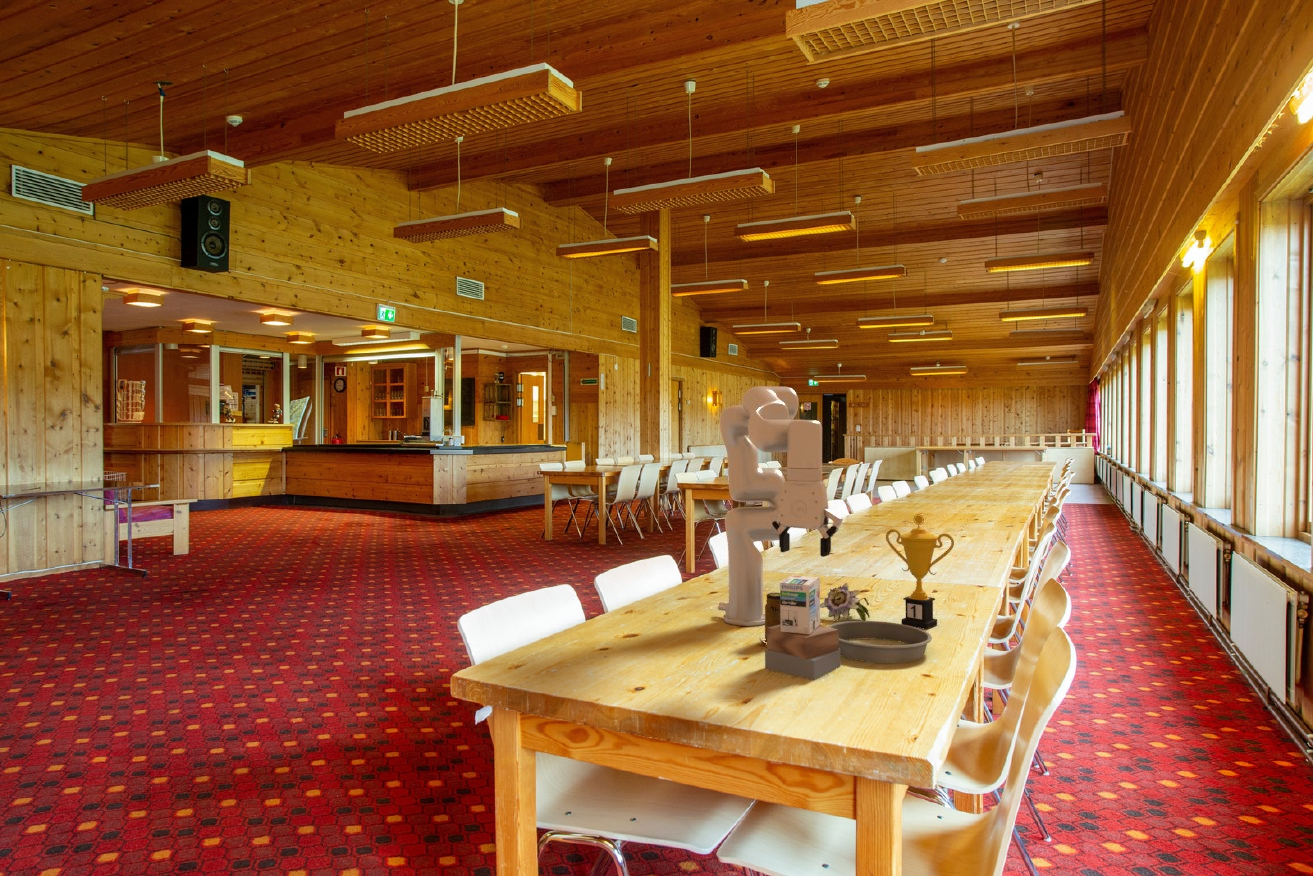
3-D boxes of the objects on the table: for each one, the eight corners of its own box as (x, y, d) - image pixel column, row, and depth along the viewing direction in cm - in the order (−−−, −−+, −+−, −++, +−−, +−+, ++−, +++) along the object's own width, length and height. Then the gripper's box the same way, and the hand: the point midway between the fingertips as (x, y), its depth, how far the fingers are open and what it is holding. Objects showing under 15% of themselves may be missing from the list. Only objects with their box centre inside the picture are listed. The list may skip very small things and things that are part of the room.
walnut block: (767, 647, 166) (767, 627, 166) (800, 639, 173) (800, 620, 173) (805, 659, 157) (805, 637, 157) (838, 650, 164) (838, 629, 164)
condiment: (788, 638, 189) (788, 591, 189) (795, 648, 181) (795, 598, 181) (759, 639, 189) (759, 591, 189) (765, 648, 180) (765, 598, 180)
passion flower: (837, 640, 207) (811, 604, 210) (850, 625, 216) (825, 590, 218) (868, 623, 201) (841, 585, 203) (880, 608, 210) (854, 572, 212)
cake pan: (955, 660, 170) (955, 641, 170) (860, 670, 163) (859, 650, 163) (891, 634, 194) (891, 617, 194) (806, 642, 187) (806, 624, 187)
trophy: (877, 622, 205) (877, 513, 206) (894, 616, 212) (894, 510, 212) (946, 634, 192) (945, 518, 192) (962, 627, 199) (961, 515, 199)
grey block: (765, 671, 164) (765, 650, 164) (792, 658, 173) (792, 639, 173) (814, 682, 156) (814, 660, 156) (840, 668, 165) (840, 648, 165)
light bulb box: (810, 635, 159) (809, 584, 159) (779, 632, 162) (778, 582, 162) (821, 624, 169) (820, 576, 169) (791, 621, 172) (791, 574, 172)
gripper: (761, 475, 167) (761, 552, 167) (834, 478, 156) (834, 560, 156) (777, 474, 173) (778, 547, 173) (848, 476, 162) (848, 555, 162)
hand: (804, 553), depth 165 cm, fingers open, 9 cm apart
